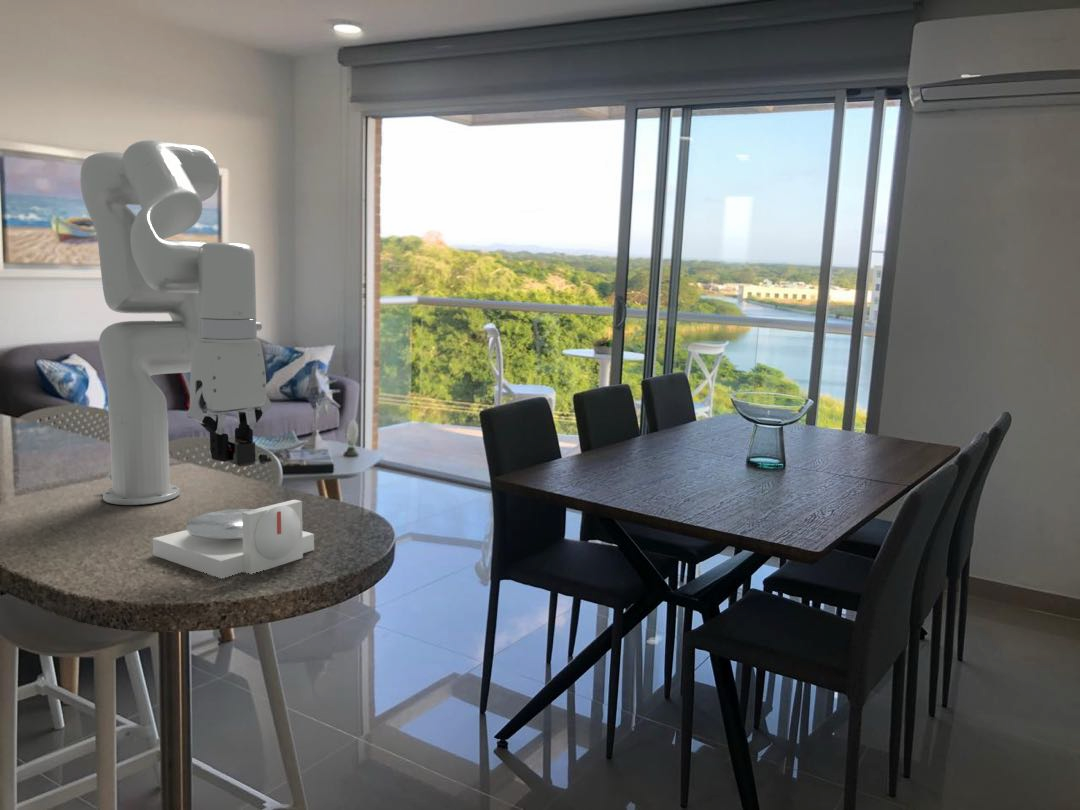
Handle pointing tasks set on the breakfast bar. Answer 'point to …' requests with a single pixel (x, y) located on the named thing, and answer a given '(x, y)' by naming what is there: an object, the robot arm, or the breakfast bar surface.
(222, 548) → the kitchen scale
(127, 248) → the robot arm
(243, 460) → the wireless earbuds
